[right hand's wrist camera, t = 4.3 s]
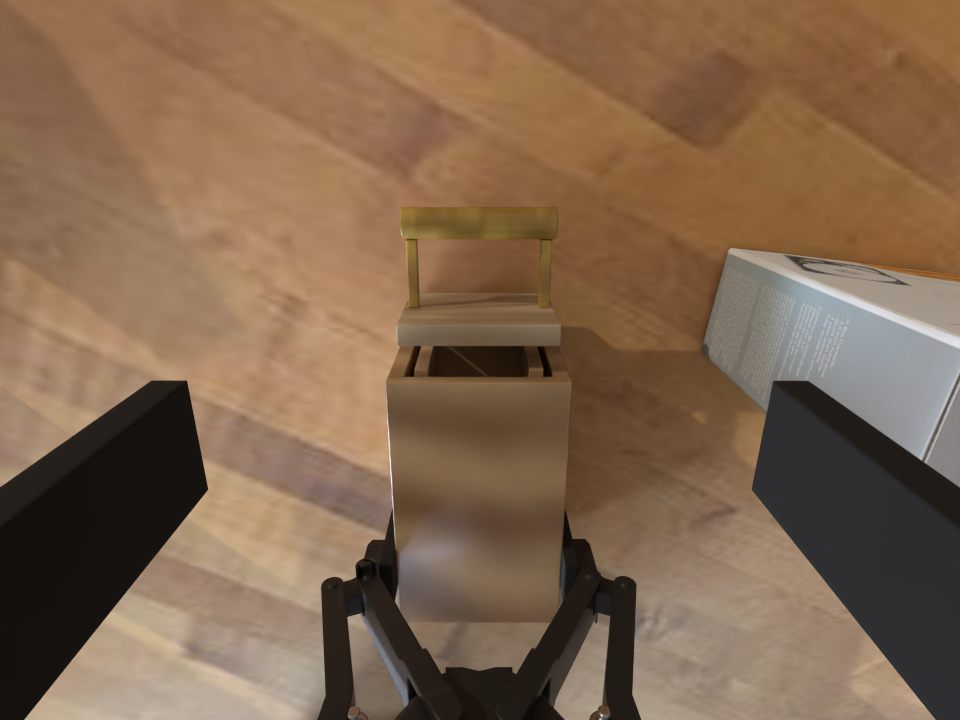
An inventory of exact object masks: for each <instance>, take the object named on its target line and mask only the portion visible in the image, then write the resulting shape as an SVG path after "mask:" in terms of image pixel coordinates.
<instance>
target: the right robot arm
mask: <svg viewBox="0 0 960 720" xmlns="http://www.w3.org/2000/svg"><path fill="white" fill-rule="evenodd" d="M207 490H208V486H207V481H206V476H205V471H204V466H203V461H202V455H201V450H200V445H199V440H198V435H197V430H196V425H195V420H194V414H193V409H192V404H191V399H190V394H189V389H188V384H187V381H151V382H149V383H148V384H146V385H145V386H143V387H142V388H141V389H139V390H138V391H136V392H135V393H134V394H132V395H131V396H129V397H128V398H126V399H125V400H124V401H122V402H121V403H119V404H118V405H116V406H115V407H114V408H112V409H111V410H109V411H108V412H107V413H105V414H104V415H102V416H101V417H99V418H98V419H97V420H95V421H94V422H92V423H91V424H89V425H88V426H87V427H85V428H84V429H82V430H81V431H80V432H78V433H77V434H75V435H74V436H72V437H71V438H70V439H68V440H67V441H65V442H64V443H62V444H61V445H60V446H58V447H57V448H55V449H54V450H53V451H51V452H50V453H48V454H47V455H45V456H44V457H43V458H41V459H40V460H38V461H37V462H36V463H34V464H33V465H31V466H30V467H28V468H27V469H26V470H24V471H23V472H21V473H20V474H18V475H17V476H16V477H14V478H13V479H11V480H10V481H9V482H7V483H6V484H4V485H3V486H1V487H0V720H24V719H25V718H26V717H27V716H28V714H29V713H30V712H31V711H32V709H33V708H34V707H35V706H36V704H37V703H38V702H39V701H40V699H41V698H42V697H43V696H44V694H45V693H46V692H47V690H48V689H49V688H50V687H51V685H52V684H53V683H54V682H55V680H56V679H57V678H58V677H59V675H60V674H61V673H62V672H63V670H64V669H65V668H66V667H67V665H68V664H69V663H70V662H71V660H72V659H73V658H74V657H75V655H76V654H77V653H78V652H79V650H80V649H81V648H82V647H83V645H84V644H85V643H86V642H87V640H88V639H89V638H90V637H91V635H92V634H93V633H94V632H95V630H96V629H97V628H98V627H99V625H100V624H101V623H102V622H103V620H104V619H105V618H106V617H107V615H108V614H109V613H110V612H111V610H112V609H113V608H114V607H115V605H116V604H117V603H118V602H119V600H120V599H121V598H122V597H123V595H124V594H125V593H126V592H127V590H128V589H129V588H130V587H131V585H132V584H133V583H134V582H135V580H136V579H137V578H138V577H139V575H140V574H141V573H142V572H143V570H144V569H145V568H146V567H147V565H148V564H149V563H150V562H151V560H152V559H153V558H154V557H155V555H156V554H157V553H158V552H159V550H160V549H161V548H162V547H163V545H164V544H165V543H166V542H167V540H168V539H169V538H170V537H171V535H172V534H173V533H174V532H175V530H176V529H177V528H178V527H179V525H180V524H181V523H182V522H183V520H184V519H185V518H186V517H187V515H188V514H189V513H190V512H191V510H192V509H193V508H194V507H195V505H196V504H197V503H198V502H199V500H200V499H201V498H202V497H203V495H204V494H205V493H206V492H207ZM752 490H753V492H754V493H755V494H756V495H757V497H758V498H759V499H760V500H761V502H762V503H763V504H764V505H765V507H766V508H767V509H768V510H769V512H770V513H771V514H772V515H773V517H774V518H775V519H776V520H777V522H778V523H779V524H780V525H781V527H782V528H783V529H784V530H785V532H786V533H787V534H788V535H789V537H790V538H791V539H792V540H793V542H794V543H795V544H796V545H797V547H798V548H799V549H800V550H801V552H802V553H803V554H804V555H805V557H806V558H807V559H808V560H809V562H810V563H811V564H812V565H813V567H814V568H815V569H816V570H817V572H818V573H819V574H820V575H821V577H822V578H823V579H824V580H825V582H826V583H827V584H828V585H829V587H830V588H831V589H832V590H833V592H834V593H835V594H836V595H837V597H838V598H839V599H840V600H841V602H842V603H843V604H844V605H845V607H846V608H847V609H848V610H849V612H850V613H851V614H852V615H853V617H854V618H855V619H856V620H857V622H858V623H859V624H860V625H861V627H862V628H863V629H864V630H865V632H866V633H867V634H868V635H869V637H870V638H871V639H872V640H873V642H874V643H875V644H876V646H877V647H878V648H879V649H880V651H881V652H882V653H883V654H884V656H885V657H886V658H887V659H888V661H889V662H890V663H891V664H892V666H893V667H894V668H895V669H896V671H897V672H898V673H899V674H900V676H901V677H902V678H903V679H904V681H905V682H906V683H907V684H908V686H909V687H910V688H911V689H912V691H913V692H914V693H915V694H916V696H917V697H918V698H919V699H920V701H921V702H922V703H923V704H924V706H925V707H926V708H927V709H928V711H929V712H930V713H931V714H932V716H933V717H934V718H935V719H936V720H960V487H959V486H957V485H956V484H954V483H953V482H951V481H950V480H949V479H947V478H946V477H944V476H943V475H942V474H940V473H939V472H937V471H936V470H934V469H933V468H932V467H930V466H929V465H927V464H926V463H924V462H923V461H922V460H920V459H919V458H917V457H916V456H915V455H913V454H912V453H910V452H909V451H907V450H906V449H905V448H903V447H902V446H900V445H899V444H897V443H896V442H895V441H893V440H892V439H890V438H889V437H888V436H886V435H885V434H883V433H882V432H880V431H879V430H878V429H876V428H875V427H873V426H872V425H870V424H869V423H868V422H866V421H865V420H863V419H862V418H861V417H859V416H858V415H856V414H855V413H853V412H852V411H851V410H849V409H848V408H846V407H845V406H844V405H842V404H841V403H839V402H838V401H836V400H835V399H834V398H832V397H831V396H829V395H828V394H826V393H825V392H824V391H822V390H821V389H819V388H818V387H817V386H815V385H814V384H812V383H811V382H809V381H773V384H772V389H771V394H770V399H769V404H768V409H767V414H766V419H765V425H764V430H763V435H762V440H761V445H760V450H759V455H758V460H757V466H756V471H755V476H754V481H753V486H752Z"/></svg>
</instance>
